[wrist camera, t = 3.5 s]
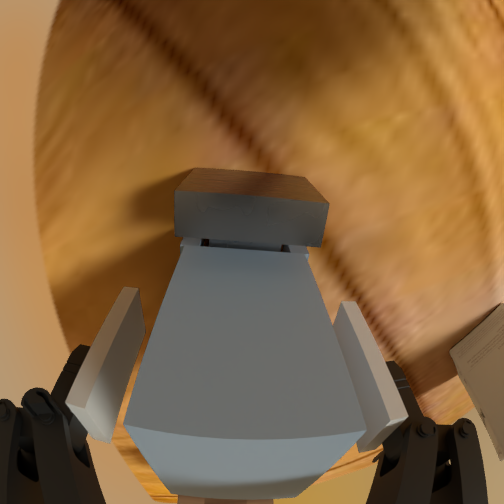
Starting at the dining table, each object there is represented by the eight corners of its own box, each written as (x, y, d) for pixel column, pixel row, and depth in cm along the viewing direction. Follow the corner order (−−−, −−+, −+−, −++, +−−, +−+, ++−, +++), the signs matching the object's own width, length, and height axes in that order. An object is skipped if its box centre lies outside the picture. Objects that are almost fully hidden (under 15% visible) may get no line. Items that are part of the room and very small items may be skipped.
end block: (183, 447, 25) (176, 521, 17) (269, 452, 26) (275, 525, 17) (187, 462, 28) (182, 525, 19) (263, 466, 29) (266, 529, 20)
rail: (194, 167, 12) (174, 190, 9) (304, 177, 12) (329, 203, 9) (204, 449, 26) (202, 479, 22) (248, 452, 26) (249, 481, 22)
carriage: (187, 227, 13) (114, 422, 4) (301, 236, 13) (375, 428, 5) (190, 336, 16) (166, 492, 7) (279, 341, 17) (300, 496, 8)
